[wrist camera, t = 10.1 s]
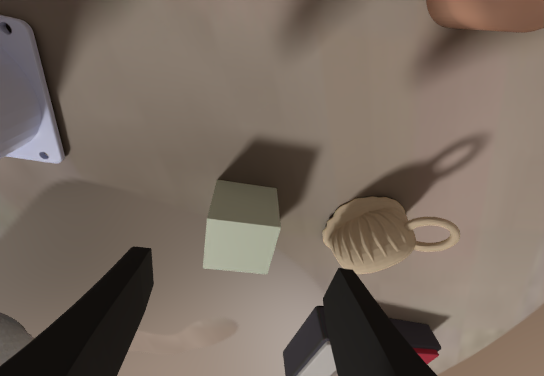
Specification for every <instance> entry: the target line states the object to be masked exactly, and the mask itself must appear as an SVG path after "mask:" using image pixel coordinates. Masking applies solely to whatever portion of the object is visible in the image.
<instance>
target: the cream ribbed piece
mask: <svg viewBox="0 0 544 376" xmlns="http://www.w3.org/2000/svg"><path fill="white" fill-rule="evenodd" d="M426 225H434V226H440V227H443V228H446V229H447V230H449V232H450V237H449V238H448V239H446V240H444V241H441V242H436V243H424V242H418V241H416V237H415V234H414V232H413V229H414V228H417V227H420V226H426ZM459 239H460V231H459V229H458V227H457V226H456V225H455V224H453V223H452V222H450V221H448V220H446V219H442V218H437V217H420V218H415V219H412V220H409V221H408V219H407V216H406V213H405V210H404V208H403V207H402V206H401V205H400V204H399V202H398V201H396V200H392V199H390V198H387V197H381V198H378V197H374V196H371V197H367V198H356V199H353V200H352V201H350V202H348V203H346V204H344V205H342V206H340V207H339V208H338V209H337V210H336V211H335V213H334V215H333V217H332V218H331V219H329V220H328V221H327V227H326V228H325V229H324V230H323V242H324V243H325V245H326V246H327V247H329V248H330V249H331V250H332V252H333V254H334V256H335V257H336V259H337V260H338V262H339V264H340V265H341V266H342V267H343V268H344V269H352V270H353V271H354V272H355V273H356V274H368V273H373V272H377V271H380V270H383V269H386V268H388V267H391V266H393V265H395V264H397V263H399V262H401V261H403V260H404V259H405V258H406V257H408V256H409V255H410V254H411V253H412V251H413V250H417V251H423V252H435V251H441V250H445V249H448V248H450V247H452V246H453V245H455V244H456V243H457V242H458V241H459Z"/></svg>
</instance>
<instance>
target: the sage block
mask: <svg viewBox="0 0 544 376" xmlns="http://www.w3.org/2000/svg"><path fill="white" fill-rule="evenodd" d="M280 229H281V225H280V215H279V206H278V196H277V188H271V187H264V186H258V185H251V184H244V183H237V182H230V181H223V180H217V182H216V186H215V190H214V194H213V198H212V201H211V205H210V209H209V213H208V217H207V227H206V238H205V250H204V262H203V268H206V269H216V270H228V271H238V272H248V273H258V274H268V270H269V267H270V263H271V259H272V256H273V252H274V249H275V246H276V242H277V239H278V235H279V232H280Z"/></svg>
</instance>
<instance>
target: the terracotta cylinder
mask: <svg viewBox="0 0 544 376" xmlns="http://www.w3.org/2000/svg"><path fill="white" fill-rule="evenodd" d="M426 2H427V8H428V11H429V14H430V16H431V17H432V19H433V20H434V21H435V22H436V23H437V24H439V25H440V26H443V27H445V28H454V29H471V30H488V31H504V32H531V31H535V30H539V29H541V28H544V0H426Z"/></svg>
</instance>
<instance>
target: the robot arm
mask: <svg viewBox="0 0 544 376" xmlns="http://www.w3.org/2000/svg"><path fill="white" fill-rule="evenodd" d="M6 23H7V24H8V25H9V26H10V27H11V29H12V33H10V32H9V31H8V30H7V28H6ZM44 152H45V153H46V154H48V156H47V155H45V154H44ZM4 156H7V157H14V158H21V159H28V160H35V161H42V162H49V163H60V162H62V161H63V160H64V159H65V155H64V151H63V147H62V143H61V139H60V135H59V131H58V127H57V123H56V119H55V115H54V111H53V107H52V104H51V100H50V96H49V92H48V88H47V84H46V80H45V76H44V72H43V68H42V64H41V60H40V56H39V52H38V48H37V44H36V40H35V36H34V33H33V30H32V28H31V27H30V26H29V24H28V23H26V22H25V21H23V20H21V19H18V18H13V17H8V16H3V15H0V159H1V158H2V157H4ZM153 284H154V282H153V268H152V254H151V248H143V247H132V248H130V250H128V252H127V253H126V254H125V255H124V256H123V257H122V258H121V259H120V260H119V261H118V262H117V263H116V264H115V265H114V266H113V267H112V268H111V269H110V270H109V271H108V272H107V273H106V274H105V275H104V276H103V277H102V278H101V279H100V280H99V281H98V282H97V283H96V284H95V285H94V286H93V287H92V288H91V289H90V290H89V291H88V292H87V293H86V294H85V295H83V296H82V297H81V298H80V299H79V300H78V301H77V302H76V303H75V304H74V305H73V306H72V307H70V308H69V309H68V310H67V311H66V312H65V313H64V314H62V315H61V316H60V317H59V318H58V319H57V320H56V321H55V322H53V323H52V324H51V325H50V326H49V327H48V328H47V329H46V330H44V331H43V332H42V333H41V334H39V335H38V336H37V337H36V338H35V339H33V340H32V341H31V342H30V343H28V344H27V345H26V346H25V347H24V348H22V349H21V350H20V351H18V352H17V353H16V354H15V355H13V356H12V357H11V358H10V359H8V360H7V361H6V362H4V363H3V364H2V365H1V366H0V376H117V374H118V372H119V370H120V367H121V365H122V363H123V361H124V358H125V356H126V354H127V352H128V349H129V347H130V345H131V342H132V340H133V338H134V336H135V333H136V331H137V329H138V326H139V324H140V322H141V319H142V317H143V315H144V312H145V310H146V306H147V303H148V300H149V297H150V294H151V291H152V287H153ZM323 304H324V314H325V321H326V327H327V332H328V336H329V340H330V345H331V349H332V353H333V357H334V362H335V366H336V370H337V374H338V376H437V375H436V374H435V373H434V372H433V371H432V369H431V368H430V367H429V366H428V365H427V364H426V363H425V362H424V361H423V359H422V358H421V357H420V356H419V355H418V354H417V353H416V351H415V350H414V349H413V348H412V347H411V345H410V344H409V343H408V342H407V341H406V339H405V338H404V337H403V336H402V334H401V333H400V332H399V331H398V329H397V328H396V327H395V326H394V324H393V323H392V322H391V321H390V319H389V318H388V317H387V315H386V314H385V313H384V311H383V310H382V309H381V307H380V306H379V305H378V303H377V302H376V301H375V299H374V298H373V297H372V295H371V294H370V292H369V291H368V290H367V288H366V287H365V286H364V284H363V283H362V281H361V280H360V279H359V277H358V276H357V275H356V273H355V272H354V271H353V270H352V269H343V268H338V270H337V272H336V274H335V276H334V278H333V280H332V282H331V284H330V286H329V288H328V289H327V291H326V293H325V295H324V297H323Z"/></svg>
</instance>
